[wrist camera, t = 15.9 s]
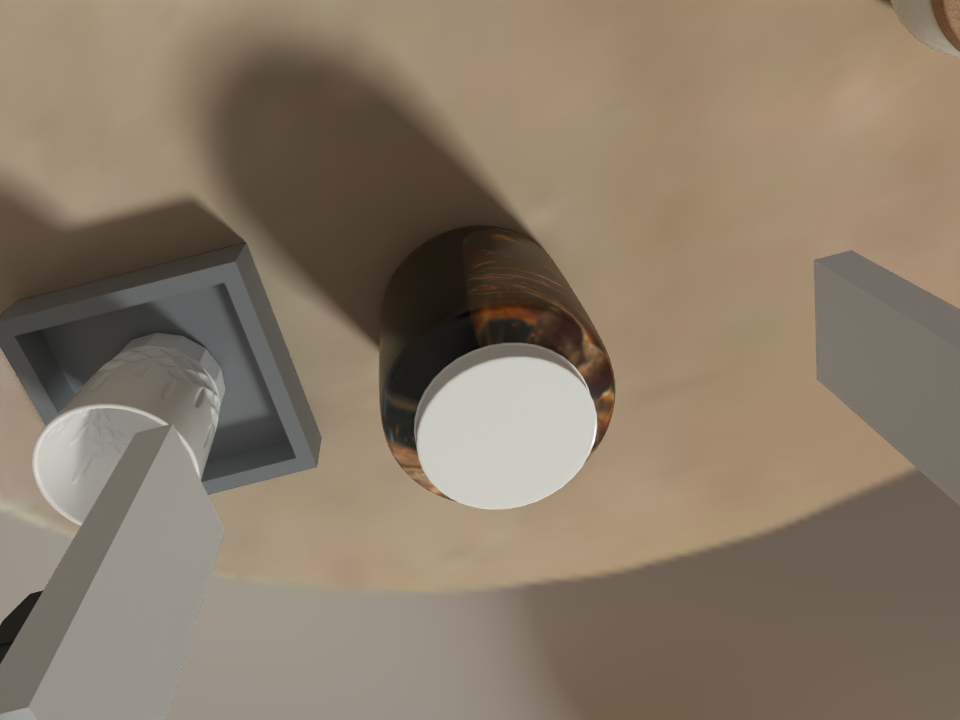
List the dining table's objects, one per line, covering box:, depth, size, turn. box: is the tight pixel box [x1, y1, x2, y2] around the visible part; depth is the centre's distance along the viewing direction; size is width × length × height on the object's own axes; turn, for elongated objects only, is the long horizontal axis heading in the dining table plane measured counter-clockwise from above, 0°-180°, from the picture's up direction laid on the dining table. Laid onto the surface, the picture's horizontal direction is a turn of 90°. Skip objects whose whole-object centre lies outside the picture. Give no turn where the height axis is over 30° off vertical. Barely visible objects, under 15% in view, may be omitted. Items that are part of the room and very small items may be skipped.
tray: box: [0, 243, 321, 495], centre depth 46 cm, size 14×14×4 cm
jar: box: [379, 226, 615, 509], centre depth 41 cm, size 12×12×15 cm
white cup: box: [32, 333, 225, 526], centre depth 42 cm, size 8×8×10 cm
